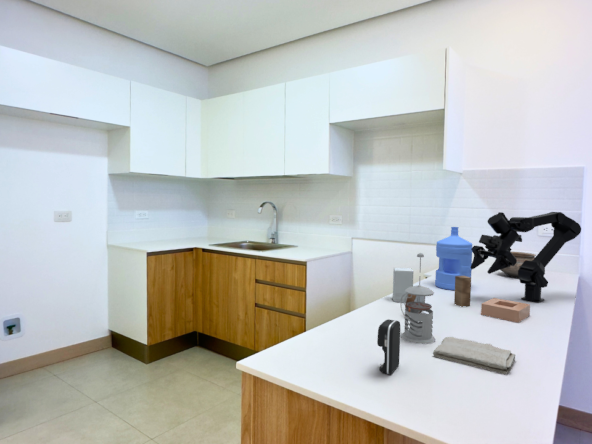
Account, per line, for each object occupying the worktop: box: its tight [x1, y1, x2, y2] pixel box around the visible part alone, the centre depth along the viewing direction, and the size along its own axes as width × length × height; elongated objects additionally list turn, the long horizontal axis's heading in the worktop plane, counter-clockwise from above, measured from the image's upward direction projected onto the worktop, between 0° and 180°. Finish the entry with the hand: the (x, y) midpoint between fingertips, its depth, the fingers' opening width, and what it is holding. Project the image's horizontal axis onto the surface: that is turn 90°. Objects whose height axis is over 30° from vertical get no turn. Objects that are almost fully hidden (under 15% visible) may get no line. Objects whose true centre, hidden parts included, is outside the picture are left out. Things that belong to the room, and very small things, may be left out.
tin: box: [405, 294, 426, 314], centre depth 137 cm, size 15×3×8 cm, turn 145°
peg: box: [453, 276, 472, 308], centre depth 148 cm, size 4×4×11 cm
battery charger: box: [376, 319, 401, 375], centre depth 91 cm, size 7×4×11 cm, turn 149°
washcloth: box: [432, 336, 516, 375], centre depth 99 cm, size 12×18×3 cm, turn 55°
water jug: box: [434, 226, 473, 291], centre depth 178 cm, size 16×16×28 cm
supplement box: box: [392, 267, 414, 304], centre depth 154 cm, size 7×7×13 cm
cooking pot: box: [500, 251, 537, 279], centre depth 206 cm, size 25×19×12 cm
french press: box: [400, 252, 436, 345], centre depth 113 cm, size 10×12×25 cm
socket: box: [480, 297, 531, 324], centre depth 136 cm, size 12×12×4 cm
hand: (479, 270), depth 149 cm, fingers open, 9 cm apart
